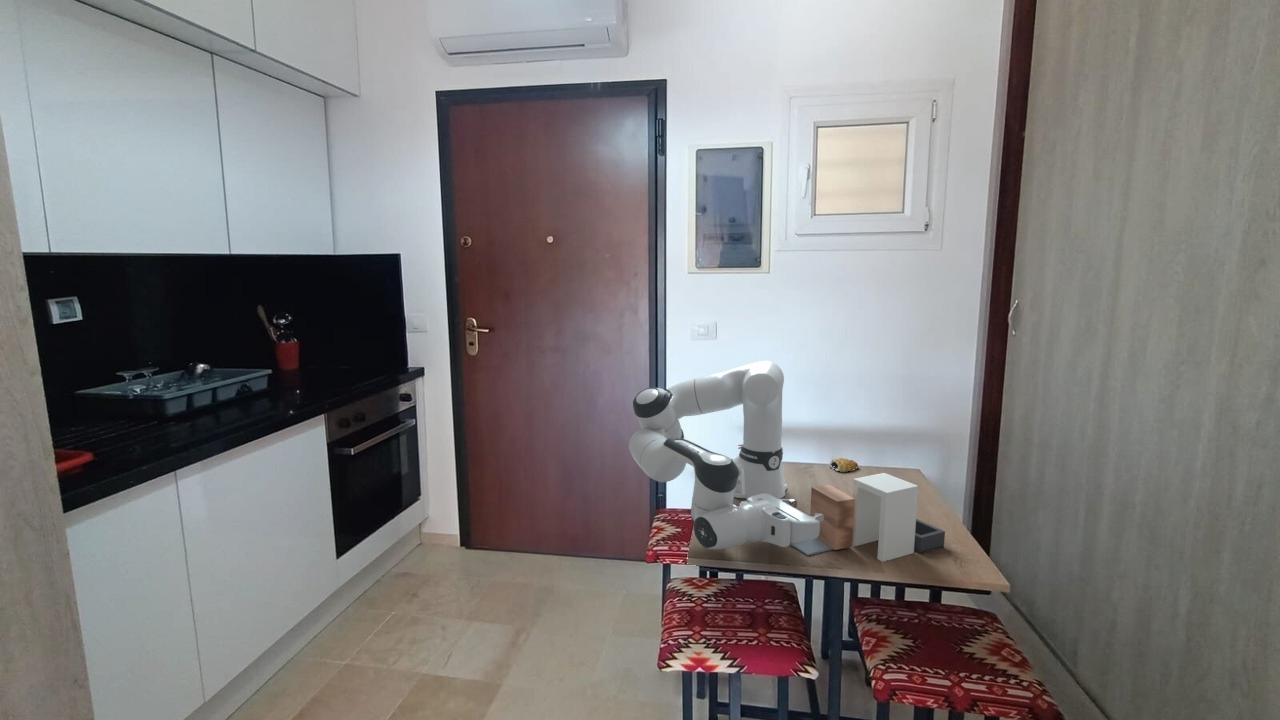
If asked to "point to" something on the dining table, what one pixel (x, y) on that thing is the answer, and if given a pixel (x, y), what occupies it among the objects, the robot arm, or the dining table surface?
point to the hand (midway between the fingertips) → (807, 509)
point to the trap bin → (927, 537)
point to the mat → (811, 546)
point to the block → (834, 515)
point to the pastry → (843, 464)
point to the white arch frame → (885, 514)
